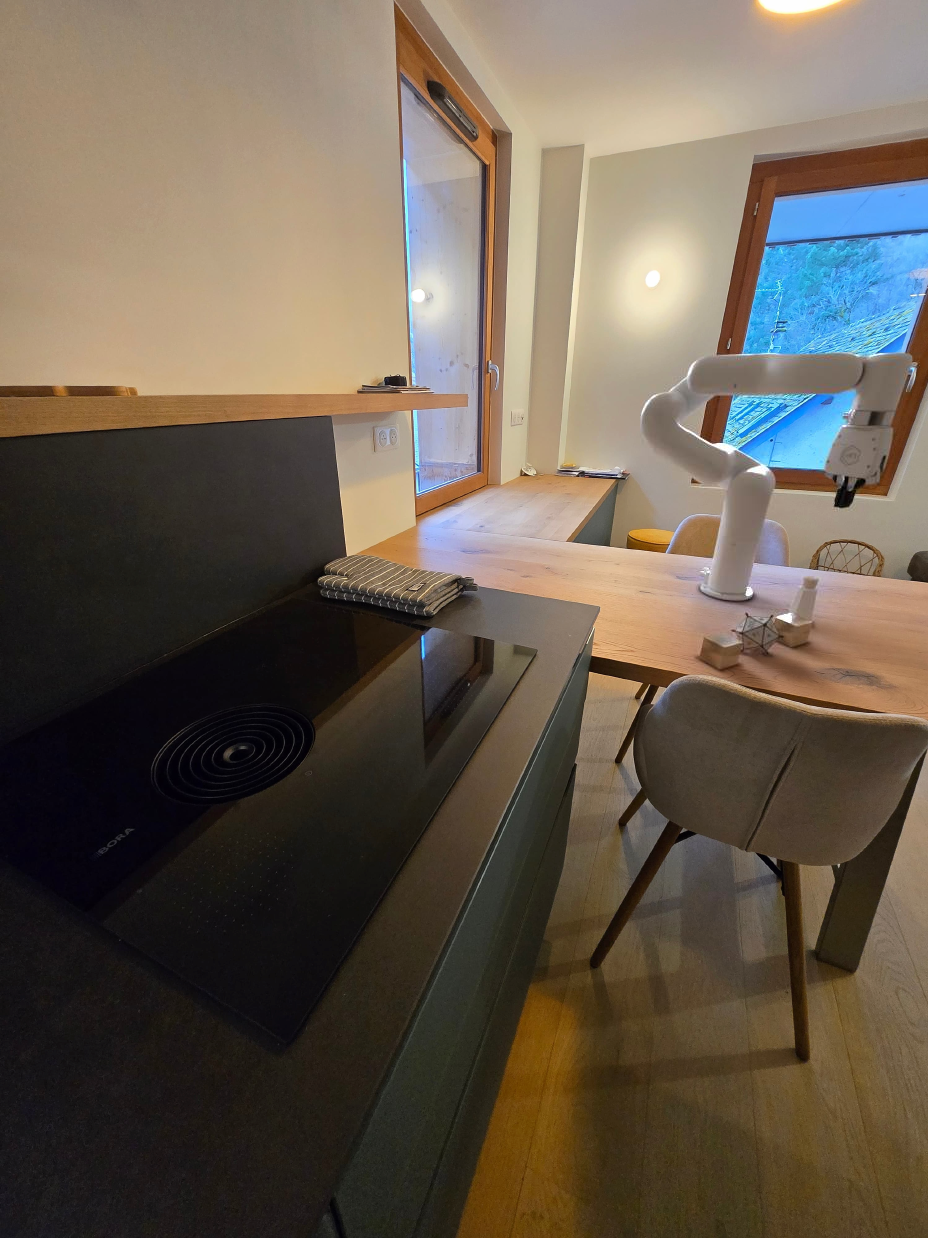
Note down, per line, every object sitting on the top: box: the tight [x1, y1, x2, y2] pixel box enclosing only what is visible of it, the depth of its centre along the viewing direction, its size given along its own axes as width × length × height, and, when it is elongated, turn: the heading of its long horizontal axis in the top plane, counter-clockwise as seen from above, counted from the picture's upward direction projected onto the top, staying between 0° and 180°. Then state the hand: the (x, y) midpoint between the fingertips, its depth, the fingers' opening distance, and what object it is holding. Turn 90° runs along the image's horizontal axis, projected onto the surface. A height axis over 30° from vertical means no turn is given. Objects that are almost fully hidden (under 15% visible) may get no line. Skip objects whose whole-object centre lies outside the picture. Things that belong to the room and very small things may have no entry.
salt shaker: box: [786, 575, 820, 621], centre depth 113 cm, size 5×5×11 cm
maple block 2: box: [773, 613, 814, 648], centre depth 106 cm, size 5×5×5 cm
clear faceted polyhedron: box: [730, 612, 784, 656], centre depth 102 cm, size 9×8×10 cm
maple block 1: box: [698, 631, 743, 671], centre depth 99 cm, size 5×5×5 cm
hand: (841, 506), depth 111 cm, fingers closed
